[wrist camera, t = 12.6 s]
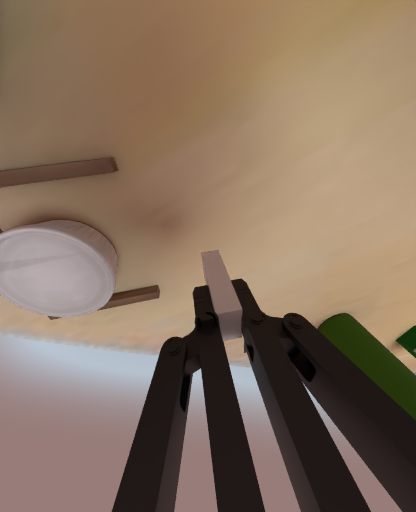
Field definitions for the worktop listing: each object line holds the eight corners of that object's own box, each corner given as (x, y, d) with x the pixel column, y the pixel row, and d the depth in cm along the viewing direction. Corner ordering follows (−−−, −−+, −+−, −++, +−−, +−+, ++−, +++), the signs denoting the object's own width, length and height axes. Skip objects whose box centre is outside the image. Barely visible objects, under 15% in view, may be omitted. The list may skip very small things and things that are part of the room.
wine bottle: (331, 339, 46) (561, 613, 19) (309, 333, 43) (553, 660, 16) (358, 317, 43) (686, 613, 16) (337, 309, 39) (713, 673, 12)
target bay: (-57, 178, 16) (-77, 180, 15) (113, 157, 18) (109, 158, 16) (56, 311, 26) (51, 319, 25) (159, 291, 27) (159, 297, 26)
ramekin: (53, 188, 18) (16, 201, 14) (143, 252, 24) (136, 276, 19) (2, 255, 21) (-44, 285, 16) (93, 299, 26) (78, 330, 22)
